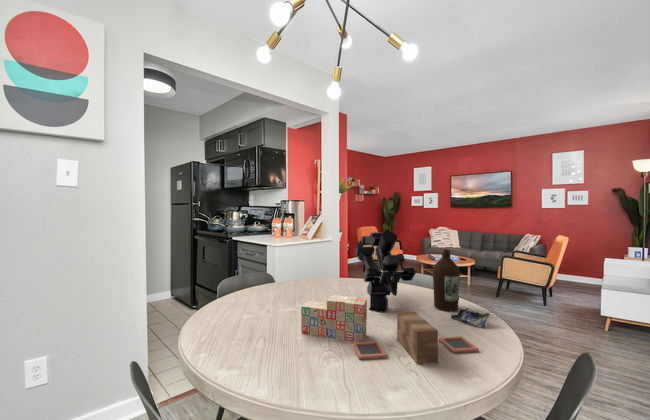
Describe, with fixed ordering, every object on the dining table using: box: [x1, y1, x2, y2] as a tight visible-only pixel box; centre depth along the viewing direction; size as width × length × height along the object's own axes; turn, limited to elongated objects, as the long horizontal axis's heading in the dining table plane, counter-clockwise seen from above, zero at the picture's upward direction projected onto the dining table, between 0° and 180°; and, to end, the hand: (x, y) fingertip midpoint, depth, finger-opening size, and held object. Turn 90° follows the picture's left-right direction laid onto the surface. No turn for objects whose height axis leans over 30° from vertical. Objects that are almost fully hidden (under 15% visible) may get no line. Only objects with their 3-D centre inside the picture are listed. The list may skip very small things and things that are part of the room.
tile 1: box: [352, 340, 388, 361], centre depth 82 cm, size 8×8×1 cm
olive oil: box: [432, 248, 461, 312], centre depth 120 cm, size 11×11×25 cm
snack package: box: [450, 307, 491, 329], centre depth 105 cm, size 12×6×12 cm
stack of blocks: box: [300, 294, 368, 343], centre depth 94 cm, size 21×6×12 cm, turn 72°
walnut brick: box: [396, 311, 439, 365], centre depth 83 cm, size 14×6×9 cm, turn 7°
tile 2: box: [438, 335, 480, 355], centre depth 86 cm, size 8×8×1 cm
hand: (395, 295), depth 99 cm, fingers closed
